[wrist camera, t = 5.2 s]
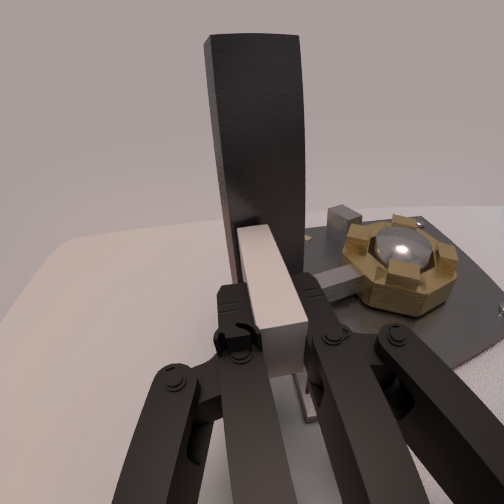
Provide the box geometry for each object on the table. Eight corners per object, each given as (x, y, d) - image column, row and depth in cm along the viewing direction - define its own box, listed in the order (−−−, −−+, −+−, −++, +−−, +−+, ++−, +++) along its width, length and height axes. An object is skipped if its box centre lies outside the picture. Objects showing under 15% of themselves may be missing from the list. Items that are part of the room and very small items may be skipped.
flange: (412, 217, 32) (418, 186, 30) (520, 325, 14) (542, 287, 12) (255, 234, 31) (252, 198, 29) (306, 423, 13) (315, 388, 10)
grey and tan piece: (398, 235, 26) (413, 74, 17) (465, 288, 18) (507, 91, 9) (224, 280, 22) (194, 57, 13) (265, 382, 14) (232, 3, 5)
